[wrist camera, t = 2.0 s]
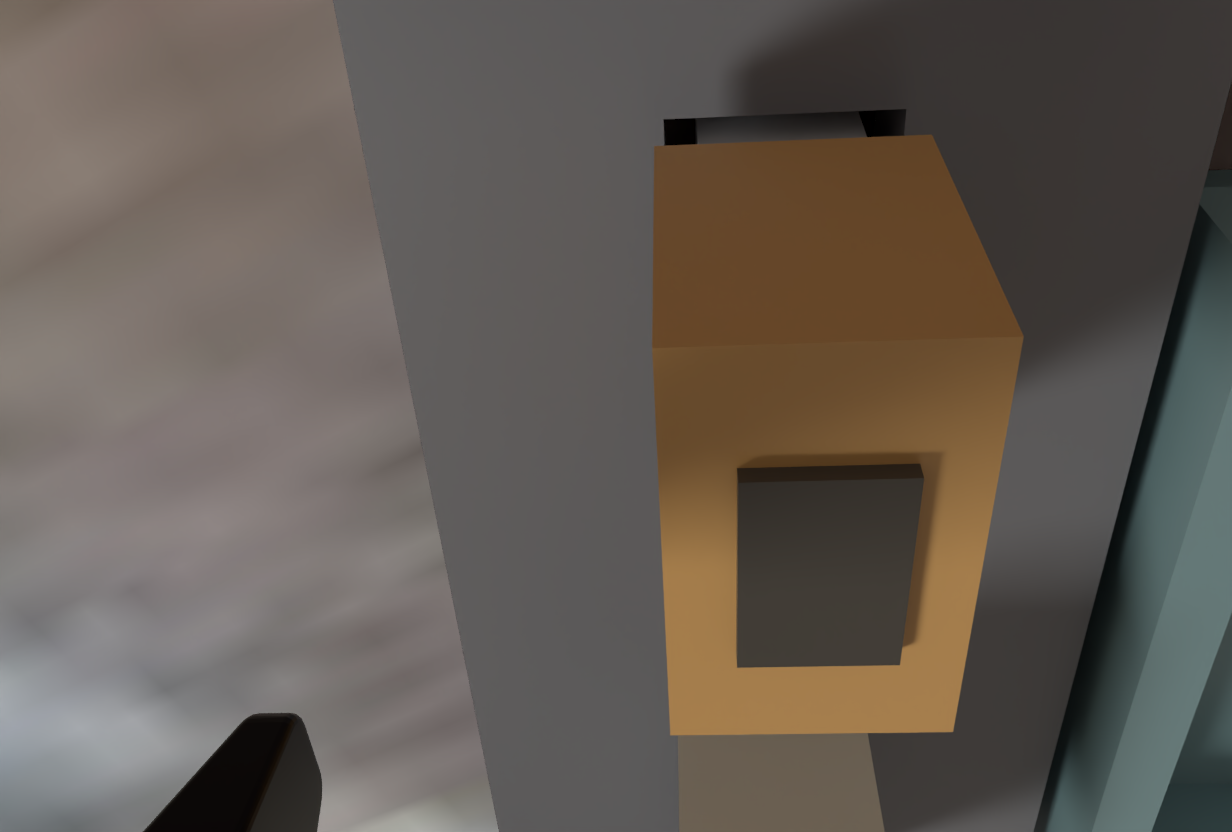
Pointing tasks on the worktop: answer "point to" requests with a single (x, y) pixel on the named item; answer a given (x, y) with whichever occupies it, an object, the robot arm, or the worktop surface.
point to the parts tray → (1164, 587)
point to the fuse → (777, 783)
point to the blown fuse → (821, 425)
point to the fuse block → (622, 336)
